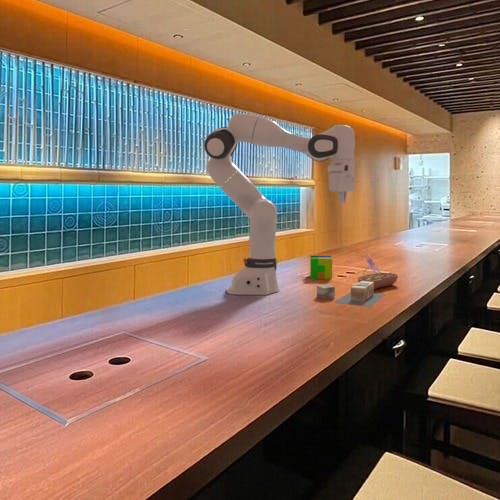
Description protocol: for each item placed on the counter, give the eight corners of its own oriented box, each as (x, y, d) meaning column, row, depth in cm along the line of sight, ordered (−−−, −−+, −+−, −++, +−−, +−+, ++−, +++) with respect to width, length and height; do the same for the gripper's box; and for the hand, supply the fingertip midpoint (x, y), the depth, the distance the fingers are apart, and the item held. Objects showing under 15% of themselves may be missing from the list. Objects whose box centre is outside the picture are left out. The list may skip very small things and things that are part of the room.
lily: (364, 279, 229) (374, 262, 226) (350, 266, 238) (360, 250, 236) (379, 283, 236) (390, 267, 233) (366, 271, 245) (375, 256, 242)
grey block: (323, 300, 181) (324, 288, 180) (316, 298, 186) (316, 285, 185) (334, 299, 183) (334, 286, 183) (327, 296, 188) (327, 284, 187)
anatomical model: (371, 293, 193) (372, 281, 193) (351, 289, 201) (352, 278, 200) (401, 285, 208) (401, 274, 208) (382, 282, 216) (382, 271, 215)
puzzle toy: (330, 275, 234) (330, 255, 233) (332, 279, 224) (332, 258, 223) (310, 275, 235) (310, 255, 234) (311, 279, 225) (311, 258, 224)
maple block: (363, 287, 176) (373, 281, 189) (350, 286, 179) (361, 280, 191) (363, 301, 177) (373, 294, 189) (350, 300, 180) (361, 292, 192)
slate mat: (370, 307, 169) (370, 306, 169) (333, 303, 176) (333, 302, 176) (385, 295, 188) (385, 294, 188) (351, 292, 195) (351, 291, 195)
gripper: (343, 168, 192) (343, 202, 194) (325, 167, 174) (325, 204, 176) (358, 168, 189) (358, 202, 191) (342, 166, 171) (341, 204, 173)
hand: (342, 203), depth 183 cm, fingers closed
